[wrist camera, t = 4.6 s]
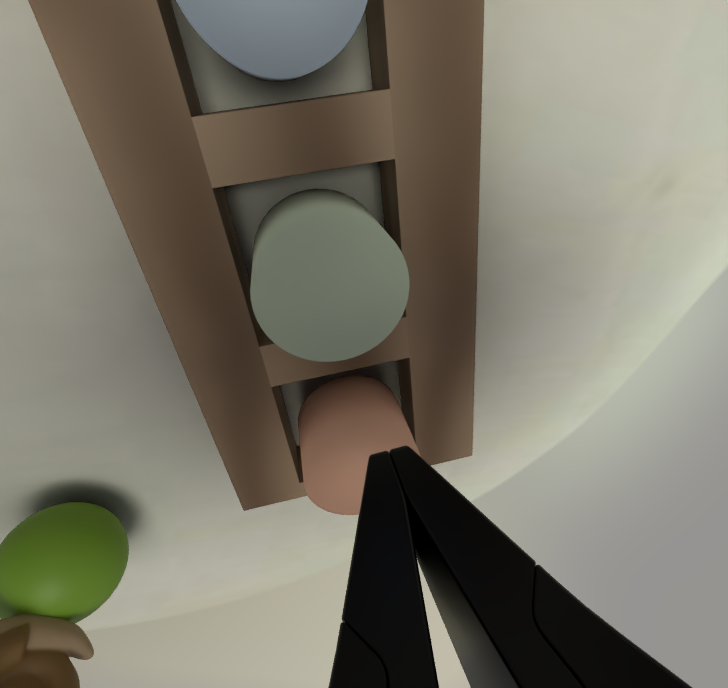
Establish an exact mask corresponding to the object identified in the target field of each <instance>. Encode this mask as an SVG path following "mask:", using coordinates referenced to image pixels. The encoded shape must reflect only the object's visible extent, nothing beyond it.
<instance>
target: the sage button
mask: <svg viewBox="0 0 728 688" xmlns="http://www.w3.org/2000/svg"><path fill="white" fill-rule="evenodd" d="M250 295H251V303H252V308H253V312H254V314H255V317H256V320H257V321H258V323H259V325H260V327H261V328H262V330H263V331H264V333H265V334H266V335H267V336H268V337H269V338H270V339H271V340H272V341H273V342H274V343H275V344H276V345H277V346H279V347H280V348H281V349H283V350H285V351H286V352H288V353H290V354H292V355H295V356H297V357H300V358H303V359H307V360H312V361H320V362H333V361H341V360H346V359H350V358H353V357H356V356H358V355H361V354H363V353H365V352H367V351H369V350H371V349H372V348H374V347H375V346H377V345H378V344H379V343H381V342H382V341H383V340H384V339H385V338H386V337H387V336H388V335H389V334H390V333H391V332H392V331H393V329H394V328H395V327H396V325H397V324H398V322H399V320H400V319H401V317H402V315H403V313H404V310H405V308H406V304H407V301H408V296H409V273H408V268H407V264H406V261H405V259H404V256H403V254H402V252H401V250H400V249H399V247H398V246H397V244H396V243H395V242H394V240H393V239H392V238H391V237H390V236H389V235H388V233H387V232H386V231H385V230H384V229H383V228H382V227H381V225H380V224H379V223H378V222H377V221H376V220H375V218H374V217H373V216H372V215H371V214H370V213H369V212H368V210H367V209H366V208H365V207H364V206H363V205H361V204H360V203H359V202H358V201H356V200H355V199H353V198H352V197H350V196H348V195H346V194H343V193H340V192H337V191H333V190H328V189H310V190H305V191H301V192H297V193H295V194H292V195H290V196H288V197H286V198H285V199H283V200H281V201H280V202H279V203H277V204H276V205H275V206H274V207H273V208H272V209H271V210H270V211H269V212H268V213H267V215H266V216H265V217H264V219H263V220H262V222H261V224H260V226H259V228H258V231H257V233H256V237H255V241H254V250H253V262H252V274H251V286H250Z"/></svg>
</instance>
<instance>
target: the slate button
mask: <svg viewBox="0 0 728 688" xmlns="http://www.w3.org/2000/svg"><path fill="white" fill-rule="evenodd" d="M176 1H177V3H178V5H179V7H180V8H181V10H182V12H183V14H184V15H185V17H186V18H187V20H188V21H189V23H190V24H191V25H192V27H193V28H194V30H195V31H196V32H197V33H198V34H199V35H200V36H201V38H202V39H203V40H204V41H205V42H206V43H207V44H208V45H209V46H210V47H211V48H212V49H213V50H215V51H216V52H217V53H218V54H219V55H220V56H222V57H223V58H224V59H225V60H226V61H228V62H229V63H230V64H232V65H233V66H234V67H236V68H237V69H239V70H241V71H242V72H244V73H246V74H248V75H251V76H253V77H256V78H259V79H263V80H267V81H288V80H293V79H297V78H299V77H302V76H304V75H307V74H309V73H311V72H313V71H315V70H317V69H318V68H320V67H322V66H324V65H325V64H327V63H328V62H329V61H330V60H332V59H333V58H334V57H336V56H337V54H338V53H339V52H340V51H341V50H342V49H343V48H344V47H345V46H346V44H347V43H348V42H349V40H350V39H351V37H352V36H353V34H354V33H355V31H356V29H357V27H358V25H359V23H360V21H361V18H362V16H363V13H364V11H365V8H366V5H367V1H368V0H176Z"/></svg>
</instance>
